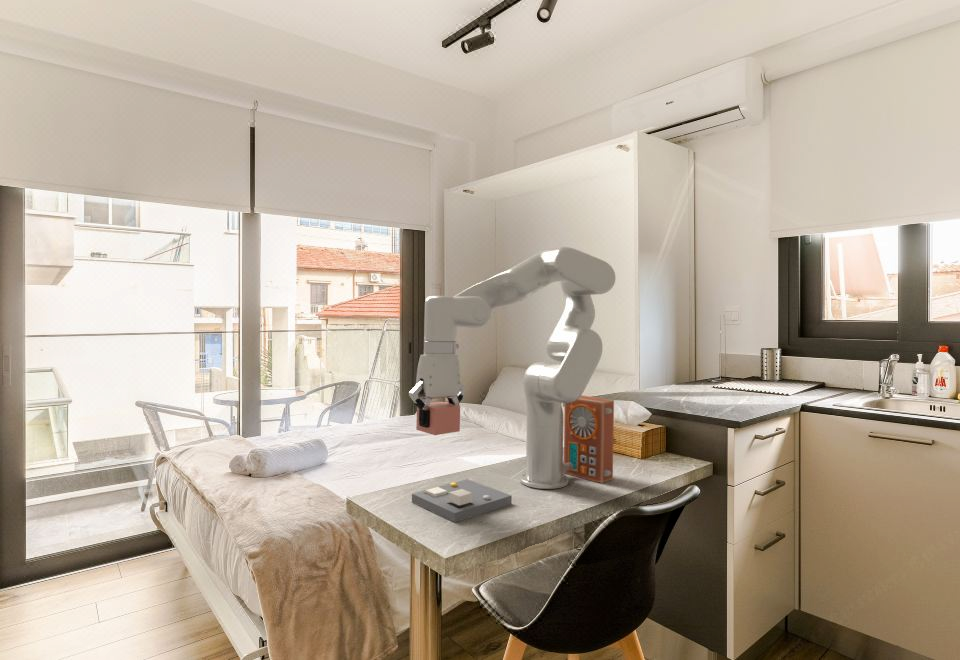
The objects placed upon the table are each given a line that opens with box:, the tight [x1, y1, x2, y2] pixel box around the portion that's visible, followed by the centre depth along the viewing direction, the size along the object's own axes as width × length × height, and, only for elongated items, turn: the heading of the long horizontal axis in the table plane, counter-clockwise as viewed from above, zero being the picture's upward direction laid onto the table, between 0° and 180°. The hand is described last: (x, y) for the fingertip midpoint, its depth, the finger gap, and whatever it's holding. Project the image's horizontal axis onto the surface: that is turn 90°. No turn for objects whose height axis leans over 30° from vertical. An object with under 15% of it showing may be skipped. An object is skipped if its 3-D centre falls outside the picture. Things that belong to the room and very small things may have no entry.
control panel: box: [562, 394, 615, 484], centre depth 148 cm, size 21×7×15 cm
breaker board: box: [411, 478, 513, 523], centre depth 127 cm, size 17×16×3 cm
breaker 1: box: [425, 486, 447, 498], centre depth 128 cm, size 4×4×2 cm
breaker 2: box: [449, 489, 472, 506], centre depth 121 cm, size 4×4×2 cm
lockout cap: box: [415, 401, 461, 436], centre depth 127 cm, size 7×7×6 cm
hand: (438, 424), depth 127 cm, fingers closed on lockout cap, 7 cm apart
